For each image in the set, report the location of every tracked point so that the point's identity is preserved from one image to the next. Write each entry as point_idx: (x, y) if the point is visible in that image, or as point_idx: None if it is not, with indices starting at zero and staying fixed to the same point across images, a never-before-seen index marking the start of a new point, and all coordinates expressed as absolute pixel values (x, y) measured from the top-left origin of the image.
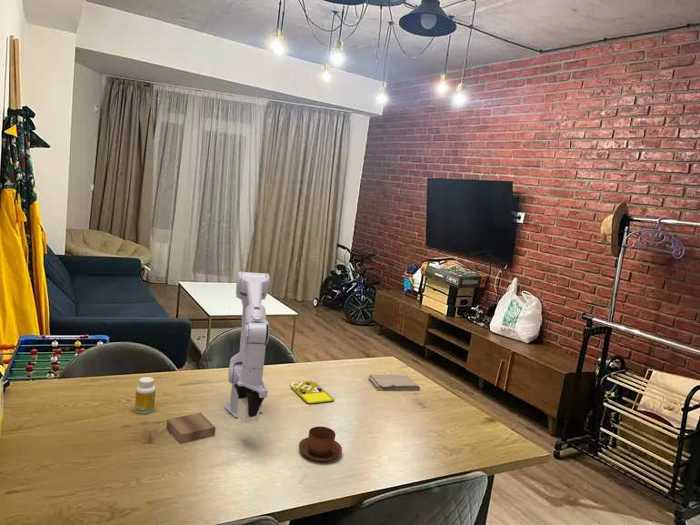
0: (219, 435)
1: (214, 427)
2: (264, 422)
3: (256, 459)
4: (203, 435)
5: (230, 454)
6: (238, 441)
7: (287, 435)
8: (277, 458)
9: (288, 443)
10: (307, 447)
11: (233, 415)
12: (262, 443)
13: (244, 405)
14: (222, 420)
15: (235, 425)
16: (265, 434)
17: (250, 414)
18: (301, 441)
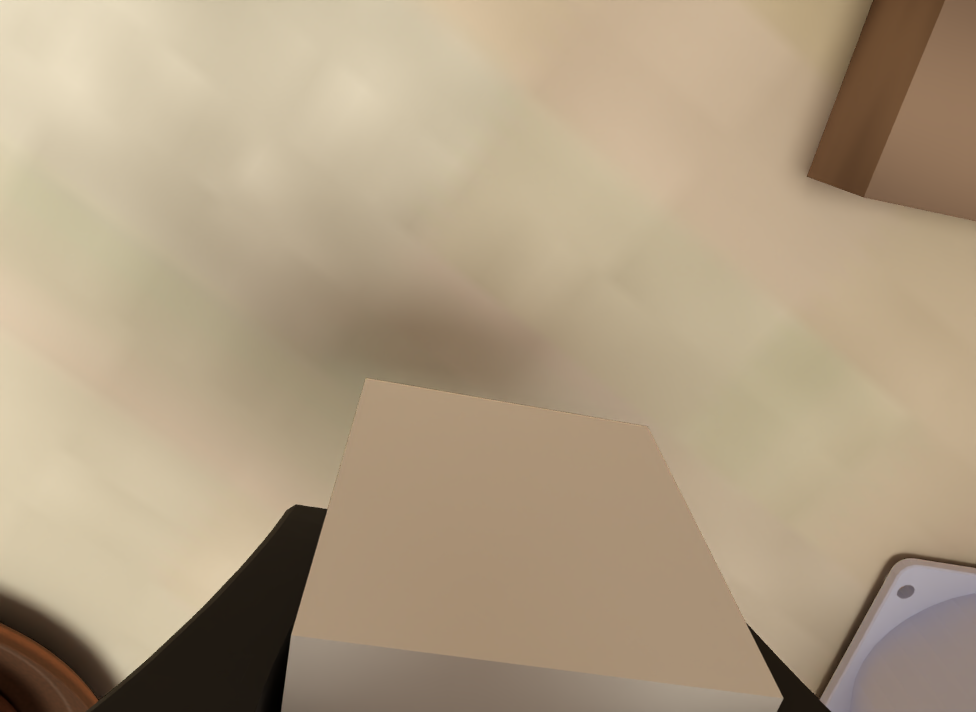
0: (770, 223)
1: (869, 182)
2: None
3: (101, 218)
4: (886, 19)
5: (351, 46)
6: (530, 305)
7: None
8: (20, 397)
9: None
10: (52, 691)
11: (942, 565)
12: None
13: (391, 614)
14: (970, 440)
15: (798, 475)
16: None
17: (270, 544)
18: (88, 708)
